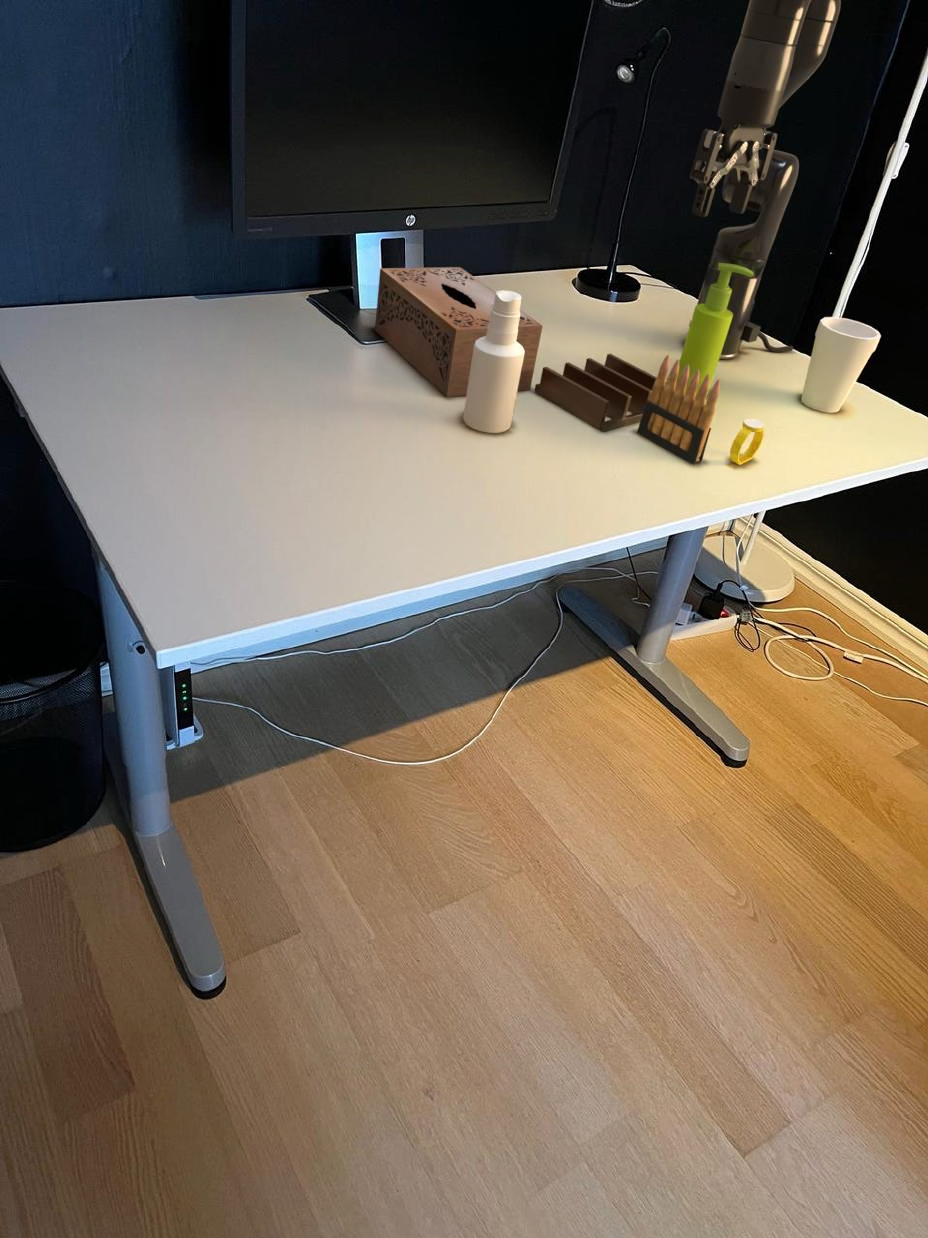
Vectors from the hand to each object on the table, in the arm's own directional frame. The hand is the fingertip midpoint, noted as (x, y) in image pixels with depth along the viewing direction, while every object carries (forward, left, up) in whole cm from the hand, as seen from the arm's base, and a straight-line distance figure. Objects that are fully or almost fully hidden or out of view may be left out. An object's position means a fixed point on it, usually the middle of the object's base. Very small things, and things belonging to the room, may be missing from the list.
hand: (717, 213), depth 129 cm
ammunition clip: (+12, +11, -28) cm, 33 cm away
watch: (+5, +19, -28) cm, 34 cm away
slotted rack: (+10, -4, -28) cm, 30 cm away
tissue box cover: (+22, -26, -28) cm, 44 cm away
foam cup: (-27, +12, -28) cm, 41 cm away
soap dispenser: (-9, -1, -28) cm, 30 cm away
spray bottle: (+32, -6, -28) cm, 43 cm away
